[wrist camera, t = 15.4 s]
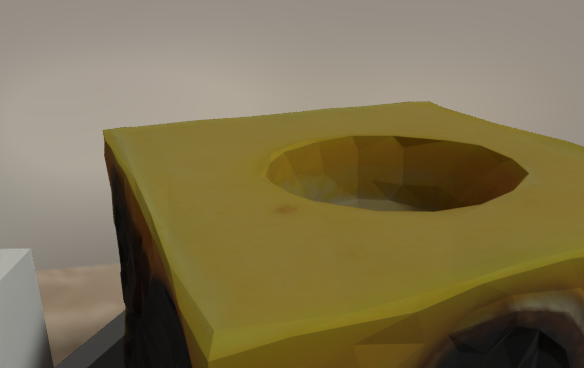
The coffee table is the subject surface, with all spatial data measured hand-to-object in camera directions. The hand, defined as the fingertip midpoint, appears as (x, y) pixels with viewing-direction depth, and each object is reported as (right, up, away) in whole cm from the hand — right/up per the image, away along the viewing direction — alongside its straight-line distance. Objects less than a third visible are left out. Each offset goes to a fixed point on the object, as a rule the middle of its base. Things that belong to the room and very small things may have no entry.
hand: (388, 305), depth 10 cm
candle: (0, -7, +4) cm, 8 cm away
